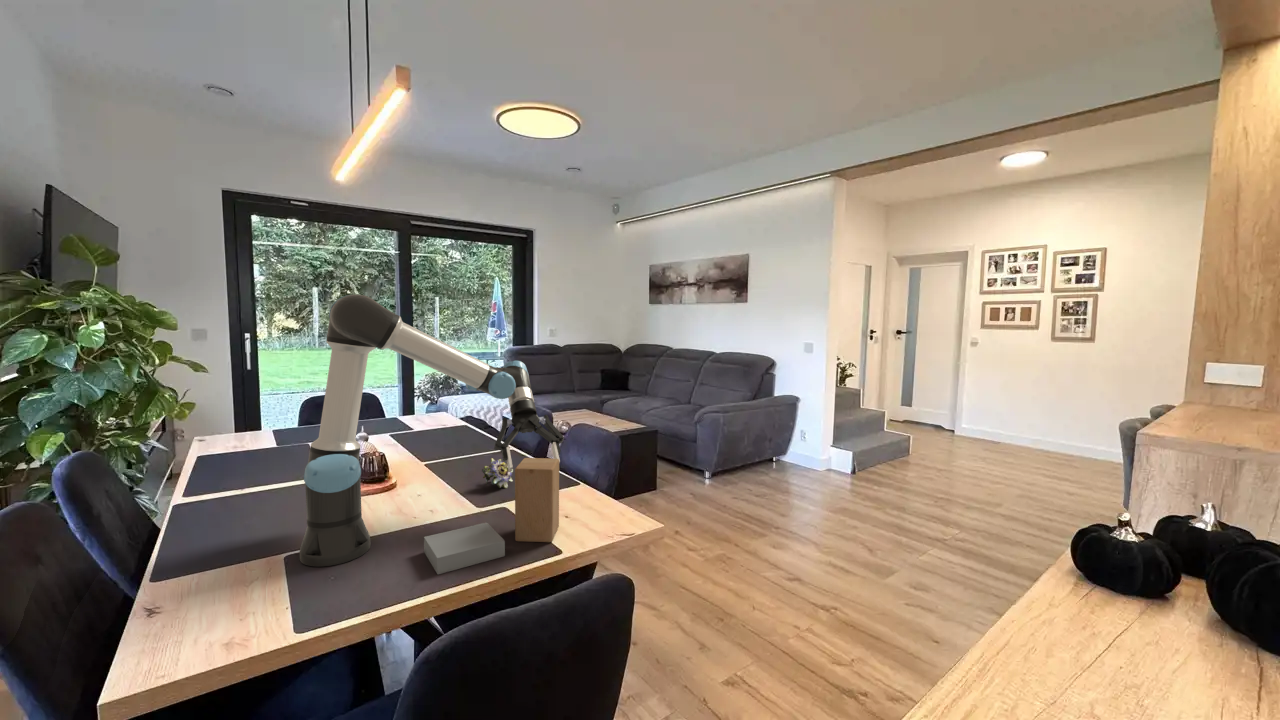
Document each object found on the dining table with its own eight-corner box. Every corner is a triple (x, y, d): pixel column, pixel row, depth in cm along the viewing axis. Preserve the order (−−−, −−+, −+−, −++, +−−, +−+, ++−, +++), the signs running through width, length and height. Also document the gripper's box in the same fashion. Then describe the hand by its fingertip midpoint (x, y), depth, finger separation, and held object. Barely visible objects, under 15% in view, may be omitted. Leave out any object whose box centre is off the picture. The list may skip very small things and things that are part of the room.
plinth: (437, 574, 116) (437, 558, 116) (424, 552, 127) (423, 536, 126) (504, 556, 126) (504, 540, 125) (487, 536, 136) (486, 522, 136)
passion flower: (504, 503, 174) (499, 482, 166) (477, 494, 176) (470, 473, 168) (520, 477, 182) (516, 456, 174) (493, 468, 184) (488, 448, 176)
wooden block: (552, 543, 133) (552, 469, 131) (514, 541, 133) (514, 468, 131) (559, 526, 143) (559, 458, 141) (524, 525, 143) (524, 457, 141)
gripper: (558, 409, 164) (573, 467, 152) (479, 415, 153) (488, 478, 141) (563, 395, 158) (579, 455, 147) (481, 400, 147) (491, 465, 136)
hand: (534, 466), depth 144 cm, fingers open, 13 cm apart
